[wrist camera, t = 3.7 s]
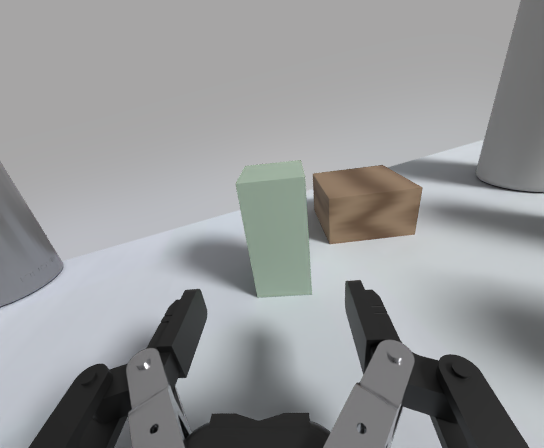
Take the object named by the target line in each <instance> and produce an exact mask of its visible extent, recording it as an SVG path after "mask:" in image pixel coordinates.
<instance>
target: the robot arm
mask: <svg viewBox="0 0 544 448" xmlns="http://www.w3.org/2000/svg"><path fill="white" fill-rule="evenodd" d="M62 268H63V262H62V261H61V259H60V258H59V256H58V255H57V253H56V251H55V249H54V248H53V246H52V245H51V243H50V241H49V240H48V238H47V236H46V235H45V233H44V231H43V230H42V228H41V226H40V225H39V223H38V222H37V220H36V218H35V217H34V215H33V213H32V212H31V210H30V209H29V207H28V206H27V204H26V203H25V201H24V199H23V197H22V196H21V194H20V192H19V191H18V189H17V188H16V186H15V184H14V183H13V181H12V180H11V178H10V176H9V175H8V173H7V171H6V170H5V168H4V167H3V165H2V163H1V162H0V307H1V306H3V305H6V304H9V303H11V302H14V301H16V300H18V299H21V298H23V297H25V296H27V295H29V294H31V293H33V292H34V291H36V290H38V289H39V288H41V287H43V286H44V285H46V284H47V283H48V282H50V281H51V280H52V279H54V278H55V277H56V276H57V275H58V274H59V273H60V271H61V270H62ZM345 308H346V314H347V317H348V321H349V325H350V328H351V332H352V335H353V339H354V343H355V346H356V350H357V353H358V357H359V360H360V364H361V368H362V371H363V377H362V379H361V381H360V382H359V383H356V384H355V386H354V387H353V389H352V391H351V393H350V395H349V397H348V399H347V401H346V403H345V405H344V407H343V409H342V411H341V413H340V415H339V417H338V419H337V421H336V423H335V425H334V427H333V429H332V431H331V432H330V431H329V430H327V429H326V428H324V427H323V426H321V425H319V424H317V423H315V422H311V421H310V418H309V413H283V414H280V415H277V416H274V417H271V418H267V419H264V420H261V421H257V420H254V419H251V418H248V417H244V416H241V415H238V414H212V416H211V420H210V423H207V424H205V425H203V426H201V427H199V428H198V429H196V430H195V431H193V432H192V431H191V429H190V427H189V424H188V422H187V419H186V416H185V413H184V410H183V406H182V403H181V400H180V397H179V394H178V391H177V388H176V386H175V384H176V382H177V379H178V378H186V377H187V374H188V371H189V369H190V366H191V363H192V360H193V357H194V354H195V351H196V348H197V346H198V343H199V340H200V337H201V334H202V331H203V328H204V325H205V323H206V320H207V308H206V305H205V302H204V299H203V295H202V292H201V290H200V289H191V290H185V291H184V293H183V295H182V297H181V299H180V300H176V301H175V302H174V303H173V304H172V305H171V306H170V307H169V308H168V310H167V312H166V313H165V317H163V319H162V321H161V323H160V325H159V326H158V328H157V330H156V332H155V334H154V336H153V337H152V339H151V341H150V343H149V345H148V347H147V348H146V349H144V350H142V351H140V352H138V353H137V354H136V355H135V356H133V358H132V359H131V360H130V361H129V363H128V364H125V365H122V366H119V367H116V368H113V369H110V370H109V369H108V368H107V366H106V365H104V364H96V365H93V366H91V367H89V368H87V369H86V370H84V371H83V372H82V373H81V374H79V375H78V377H77V378H76V379H75V380H74V382H73V383H72V385H71V386H70V388H69V389H68V391H67V392H66V393H65V395H64V396H63V398H62V399H61V401H60V402H59V404H58V405H57V407H56V408H55V410H54V411H53V412H52V414H51V415H50V417H49V418H48V420H47V421H46V423H45V424H44V426H43V427H42V429H41V430H40V432H39V433H38V434H37V436H36V437H35V439H34V440H33V442H32V443H31V445H30V446H29V448H114V446H115V444H116V442H117V439H118V437H119V435H120V433H121V430H122V428H123V426H124V423H125V421H126V419H127V417H128V419H129V426H130V434H131V442H132V448H390V447H391V444H392V441H393V438H394V435H395V432H396V429H397V425H398V422H399V419H400V416H401V413H402V410H403V407H406V408H409V409H412V410H415V411H418V412H421V413H424V414H427V415H430V417H431V420H432V423H433V425H434V428H435V430H436V433H437V435H438V438H439V440H440V443H441V445H442V448H529V447H528V445H527V443H526V442H525V440H524V439H523V437H522V436H521V434H520V432H519V431H518V429H517V428H516V426H515V425H514V423H513V421H512V420H511V418H510V417H509V415H508V414H507V412H506V411H505V409H504V407H503V406H502V404H501V403H500V401H499V400H498V398H497V396H496V395H495V393H494V392H493V390H492V389H491V387H490V385H489V384H488V382H487V381H486V379H485V378H484V376H483V374H482V373H481V371H480V370H479V369H478V368H477V367H476V366H475V365H474V364H473V363H472V362H470V361H469V360H467V359H465V358H463V357H461V356H458V355H451V354H450V355H444V356H442V357H441V358H440V360H439V361H438V360H434V359H430V358H426V357H423V356H419V355H417V354H415V353H413V352H411V350H410V349H409V348H408V347H407V346H405V345H404V344H402V342H401V341H400V339H399V337H398V334H397V332H396V330H395V328H394V326H393V324H392V322H391V319H390V317H389V315H388V314H387V311H386V309H385V307H384V305H383V302H382V300H381V298H380V296H379V295H377V294H376V293H375V292H374V291H373V290H365V289H364V287H363V284H362V282H361V280H355V281H346V283H345Z"/></svg>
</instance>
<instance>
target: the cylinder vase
mask: <svg viewBox="0 0 544 448" xmlns="http://www.w3.org/2000/svg"><path fill="white" fill-rule="evenodd" d="M476 175H477V177H478V178H479V179H480V180H482V181H483V182H485V183H488V184H491V185H494V186H497V187H501V188H506V189H512V190H519V191H528V192H544V0H521V2H520V5H519V9H518V13H517V17H516V21H515V25H514V28H513V32H512V36H511V40H510V43H509V47H508V51H507V55H506V59H505V62H504V66H503V70H502V74H501V78H500V82H499V85H498V89H497V93H496V97H495V101H494V104H493V109H492V112H491V116H490V120H489V123H488V127H487V131H486V135H485V139H484V142H483V146H482V150H481V154H480V158H479V161H478V165H477V169H476Z"/></svg>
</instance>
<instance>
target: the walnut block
mask: <svg viewBox="0 0 544 448" xmlns="http://www.w3.org/2000/svg"><path fill="white" fill-rule="evenodd" d="M313 190H314V210H315V213H316V215H317V217H318V219H319V221H320V224H321V226H322V228H323V230H324V233H325V235H326V237H327V239H328V241H329V244H336V243H345V242H353V241H362V240H371V239H379V238H388V237H397V236H405V235H414V234H415V230H416V224H417V218H418V212H419V206H420V200H421V194H422V187H421V186H419V185H417V184H415V183H413V182H412V181H410V180H408V179H406V178H405V177H403V176H401V175H399V174H398V173H396V172H394V171H392V170H390V169H389V168H387V167H385V166H383V165H379V166H371V167H363V168H355V169H347V170H339V171H330V172H322V173H314V174H313Z"/></svg>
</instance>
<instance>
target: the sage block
mask: <svg viewBox="0 0 544 448" xmlns="http://www.w3.org/2000/svg"><path fill="white" fill-rule="evenodd" d="M236 189H237V194H238V199H239V204H240V210H241V215H242V220H243V225H244V230H245V235H246V241H247V246H248V251H249V256H250V261H251V266H252V272H253V277H254V282H255V287H256V292H257V297H258V298H259V297H277V296H295V295H312V286H311V269H310V252H309V235H308V218H307V201H306V184H305V175H304V171H303V167H302V163H301V160H298V161H289V162H280V163H270V164H260V165H251V166H245V168H244V169H243V171H242V173H241V175H240V177H239V178H238V180H237V182H236Z"/></svg>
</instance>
